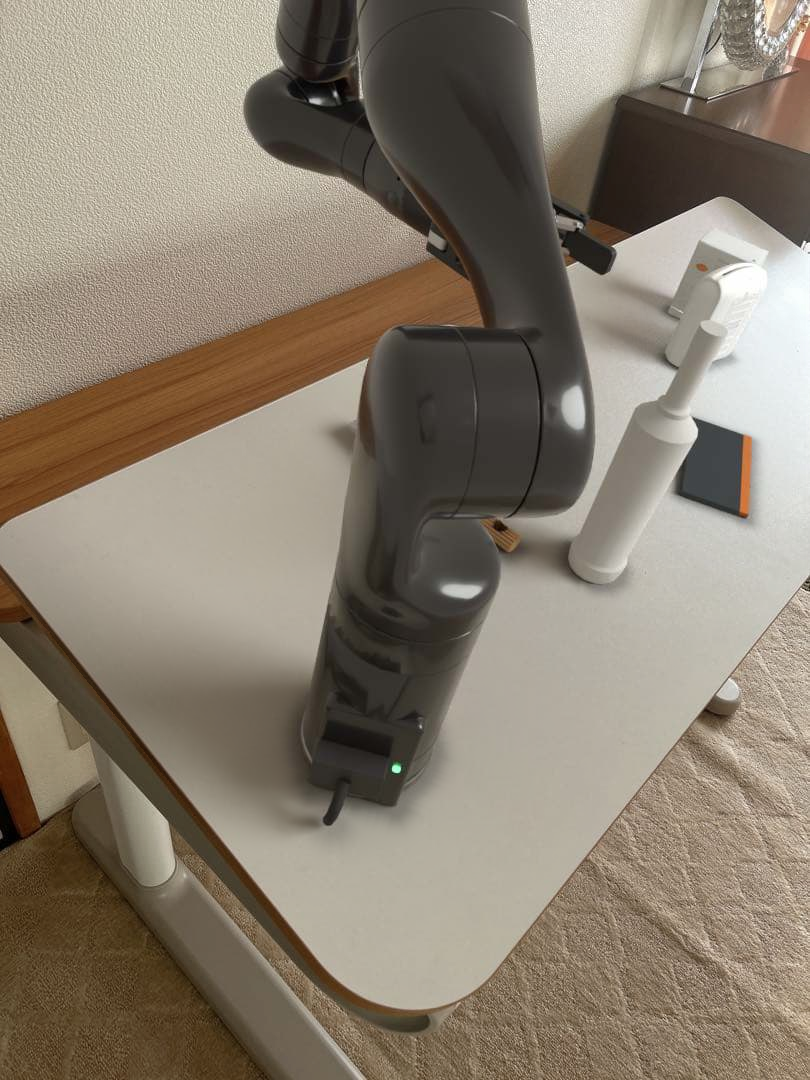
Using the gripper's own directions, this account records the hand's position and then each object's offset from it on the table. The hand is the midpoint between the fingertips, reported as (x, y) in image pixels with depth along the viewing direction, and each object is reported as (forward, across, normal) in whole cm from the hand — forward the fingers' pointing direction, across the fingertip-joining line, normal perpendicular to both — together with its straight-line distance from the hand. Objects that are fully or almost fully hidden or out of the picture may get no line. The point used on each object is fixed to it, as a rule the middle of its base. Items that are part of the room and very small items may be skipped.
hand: (581, 277), depth 68 cm
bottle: (+11, 0, +23) cm, 26 cm away
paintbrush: (-4, -6, +23) cm, 24 cm away
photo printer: (-2, +42, +24) cm, 48 cm away
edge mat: (+11, +24, +23) cm, 35 cm away
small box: (-6, +50, +24) cm, 56 cm away
